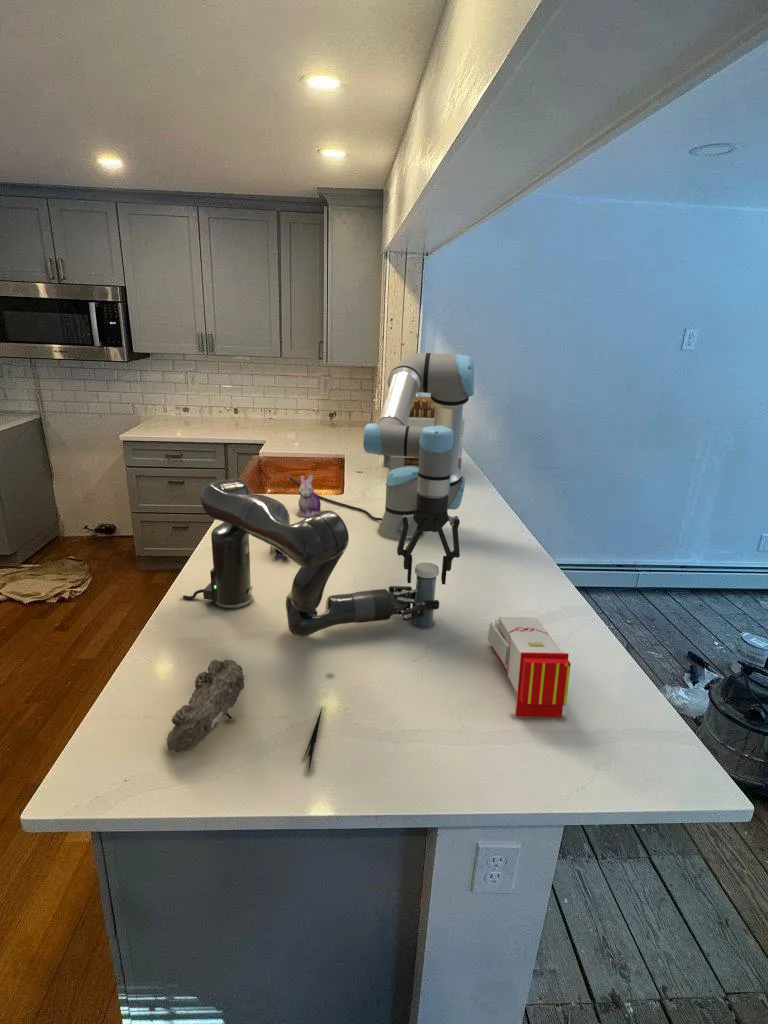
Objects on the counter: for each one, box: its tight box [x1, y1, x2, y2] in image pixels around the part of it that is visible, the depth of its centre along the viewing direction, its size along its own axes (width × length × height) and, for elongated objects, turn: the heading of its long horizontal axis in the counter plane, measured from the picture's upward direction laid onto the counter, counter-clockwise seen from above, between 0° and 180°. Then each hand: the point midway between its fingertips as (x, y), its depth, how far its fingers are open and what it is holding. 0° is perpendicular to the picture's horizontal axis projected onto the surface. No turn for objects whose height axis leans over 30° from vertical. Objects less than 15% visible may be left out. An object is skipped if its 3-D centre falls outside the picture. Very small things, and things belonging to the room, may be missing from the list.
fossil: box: [166, 658, 245, 754], centre depth 106 cm, size 22×10×15 cm
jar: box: [412, 574, 438, 628], centre depth 142 cm, size 5×5×15 cm
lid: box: [414, 561, 440, 578], centre depth 139 cm, size 6×6×2 cm
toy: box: [487, 616, 572, 718], centre depth 123 cm, size 12×13×30 cm
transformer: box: [383, 395, 465, 472], centre depth 268 cm, size 34×33×41 cm
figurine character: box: [269, 545, 288, 560], centre depth 179 cm, size 7×8×15 cm
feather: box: [301, 673, 332, 771], centre depth 108 cm, size 2×28×2 cm
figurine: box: [298, 474, 322, 518], centre depth 213 cm, size 9×10×15 cm
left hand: (434, 599), depth 143 cm, fingers closed on jar, 5 cm apart
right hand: (426, 581), depth 140 cm, fingers open, 8 cm apart
